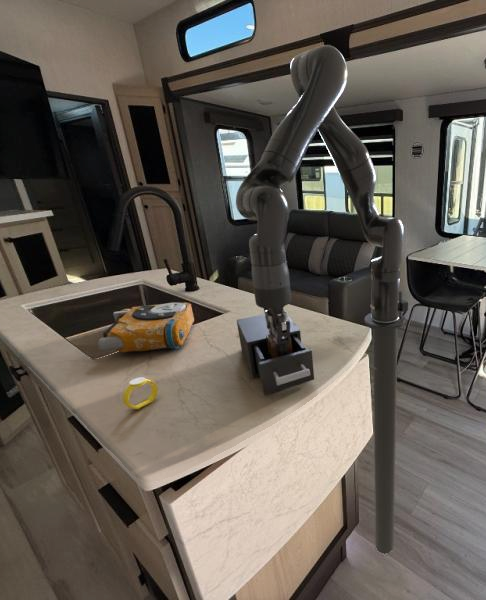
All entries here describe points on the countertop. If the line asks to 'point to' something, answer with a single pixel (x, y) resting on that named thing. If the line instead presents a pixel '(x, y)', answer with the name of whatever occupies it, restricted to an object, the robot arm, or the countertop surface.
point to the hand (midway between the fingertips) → (280, 352)
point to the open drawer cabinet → (283, 366)
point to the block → (275, 346)
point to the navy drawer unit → (257, 336)
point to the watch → (137, 383)
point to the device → (149, 328)
